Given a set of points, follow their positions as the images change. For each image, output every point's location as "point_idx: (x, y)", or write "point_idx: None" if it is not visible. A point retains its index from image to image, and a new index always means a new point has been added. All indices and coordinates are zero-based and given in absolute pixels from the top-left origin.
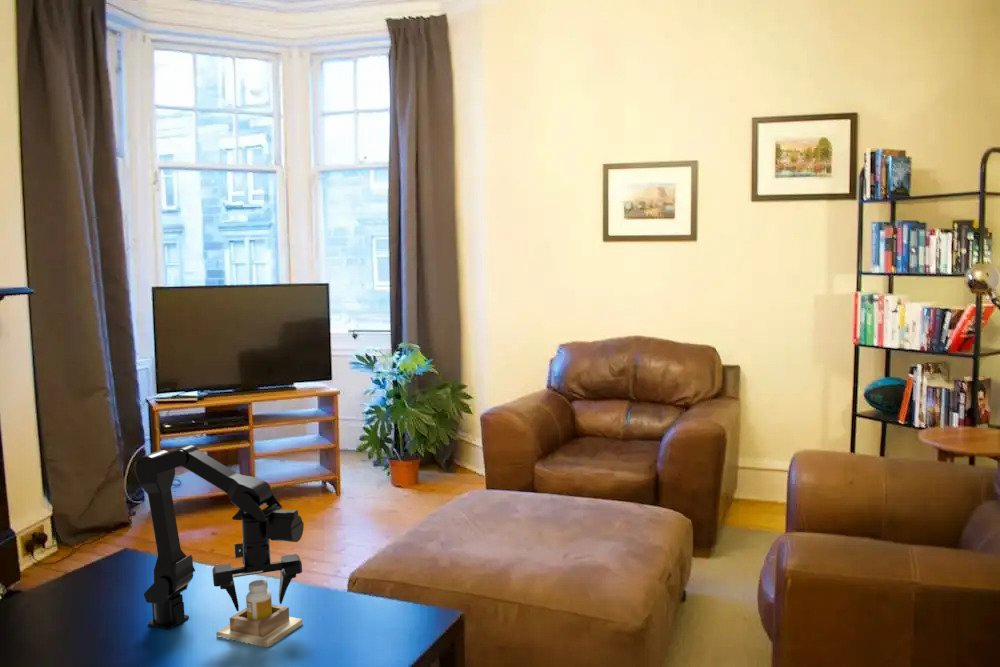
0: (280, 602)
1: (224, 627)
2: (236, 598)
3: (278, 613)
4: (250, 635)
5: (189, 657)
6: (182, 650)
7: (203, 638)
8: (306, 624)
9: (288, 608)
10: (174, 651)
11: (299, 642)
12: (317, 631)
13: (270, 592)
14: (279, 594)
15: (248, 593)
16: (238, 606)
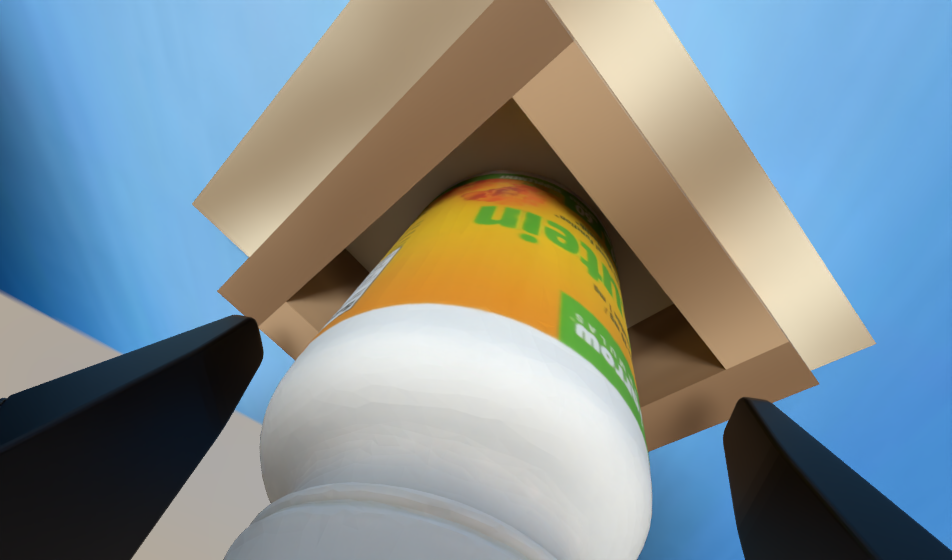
0: (734, 461)
1: (236, 155)
2: (125, 556)
3: (652, 445)
4: None
5: (130, 350)
6: (64, 259)
7: (135, 161)
8: (874, 333)
9: (807, 380)
10: (25, 248)
11: (685, 504)
12: (864, 460)
13: (641, 548)
14: (779, 527)
15: (272, 475)
16: (229, 416)
